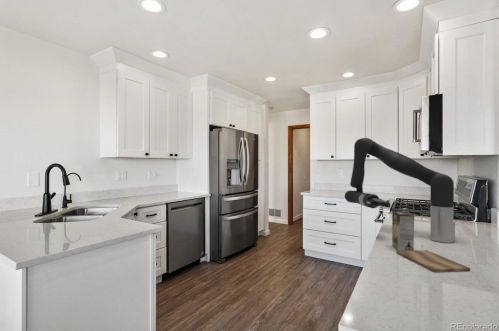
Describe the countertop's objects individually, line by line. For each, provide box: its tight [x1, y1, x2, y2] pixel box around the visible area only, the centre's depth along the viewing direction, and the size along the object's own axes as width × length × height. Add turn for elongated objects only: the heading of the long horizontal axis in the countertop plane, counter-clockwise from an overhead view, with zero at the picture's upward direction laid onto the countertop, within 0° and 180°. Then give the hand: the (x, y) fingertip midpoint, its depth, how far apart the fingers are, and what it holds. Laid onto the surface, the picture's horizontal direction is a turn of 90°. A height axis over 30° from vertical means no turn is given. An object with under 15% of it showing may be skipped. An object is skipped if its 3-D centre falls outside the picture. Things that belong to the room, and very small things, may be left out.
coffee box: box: [391, 211, 415, 251], centre depth 118 cm, size 9×6×16 cm
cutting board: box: [395, 249, 471, 273], centre depth 102 cm, size 14×20×1 cm
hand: (388, 205), depth 127 cm, fingers closed
